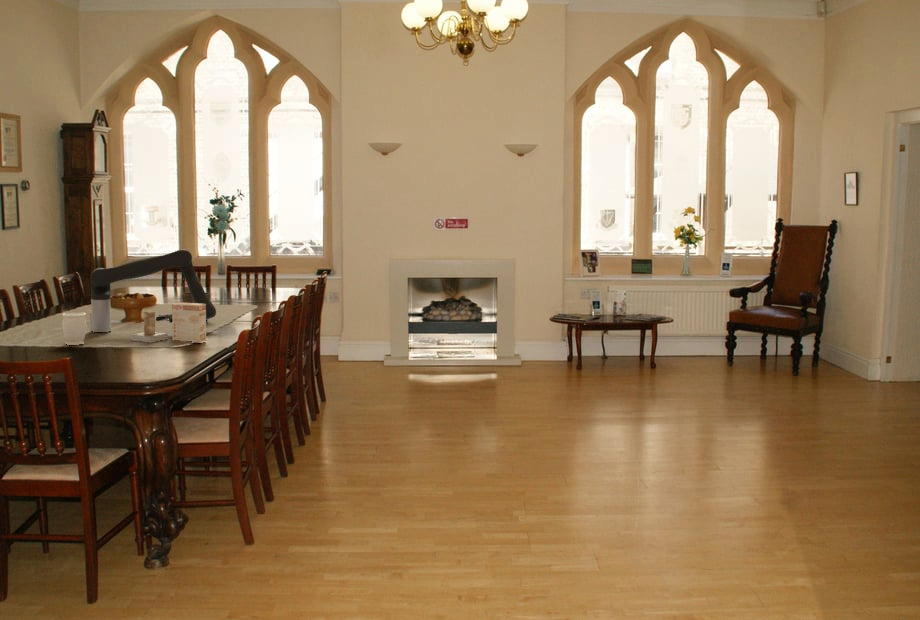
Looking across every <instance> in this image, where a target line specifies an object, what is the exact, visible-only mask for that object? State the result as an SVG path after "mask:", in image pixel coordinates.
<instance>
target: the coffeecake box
mask: <svg viewBox="0 0 920 620" xmlns="http://www.w3.org/2000/svg"><path fill="white" fill-rule="evenodd" d="M171 304H172V305H171V307H172V308H171V311H172V313H171V314H172V323H171V325H172V327H171V328H172V330H171V331H172V334H171V336H172V338H171V339H172V341H174V340H180V341H179V342H186V341H193V342H202V341H206V342H207V321H206V304H199V303H184V301H182V302H181V301H179V302H172V303H171Z"/></svg>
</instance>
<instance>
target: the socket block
mask: <svg viewBox="0 0 920 620" xmlns="http://www.w3.org/2000/svg"><path fill="white" fill-rule="evenodd" d="M130 337H131V340H132V342H133V341H134V342H139V341H142V342H141V343H147V342H149V343H150V344H152V343H151V342H153V343H156V342H155V341H158V342H161V341H160V340H163V341H166V340H165V339H169V334H168V333H167V332H160V331H159V332H157V331H155V334H153V335H146V334H144V331H143V332H138V333H133V334H131V336H130ZM131 340H130V341H131Z"/></svg>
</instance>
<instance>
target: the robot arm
mask: <svg viewBox="0 0 920 620" xmlns="http://www.w3.org/2000/svg"><path fill="white" fill-rule="evenodd" d="M177 267H178V268H179V270H180V271H181V273H182V275H183V277H184V279H185V282H186V284H187V287H188V290H189V292H190V293H191V295H192V298H193V300H194V302H195V303H199V304H206V320H207V321H208V320H210V319H213V318H215V316H216V315H217V309H216V307H215V305H214V304H213V302H212V301H211V300H209V299H208V298H207V296H206V294H205V293H206V291H205V289H204V287H203V285H202V283H201V282H200V279H199V277H198V275H197V274H196V271H195V267H194V264H193V255H192V253H191V252H190V251H189V250H188V249H186V248H185V249H184V248H181V249H178V250H175V251H173V252H170V253H166V254H163V255H161V254H160V255H155V256H149V257H143V258H138V259H135V260H131V261H128V262H125V263H123V264H120V265H117V266H113V267H107V268H103V267H97V268H95V269H93V270H92V272H91V274H90V289H91V290H90V296H91V297H90V303H91V305H90V306H91V311H90V312H91V313H89V325H90V326H89V327H90V328H89V329H90V330H89V331H90V332H91V331H93V332H92V333H94V332H107V333H109V332H108V331H112V328H111V327H112V323H111V320H112V319H111V317H112V315H111V309H112V308H111V284H113V283H116V282H119V281H124V280H132V279H137V278H142V277H147V276H150V275H153V274H157V273H159V272H161V271H164V270H167V269H172V268H173V269H174V268H177ZM161 321H166V322H169V323H170V324H172V313H170V314H169V313H163V314H159V315H158V316H155V322H161Z"/></svg>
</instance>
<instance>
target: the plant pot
mask: <svg viewBox="0 0 920 620" xmlns="http://www.w3.org/2000/svg"><path fill="white" fill-rule="evenodd" d="M205 294H206V296H207V298H208V299H209V300H210V299H211V295H212V293H210V292H205ZM181 296H182V302H183V303H195V302H194V300H193V298H192V295H191V293H190V291H189V292H182V293H181ZM210 301H211V300H210Z"/></svg>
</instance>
